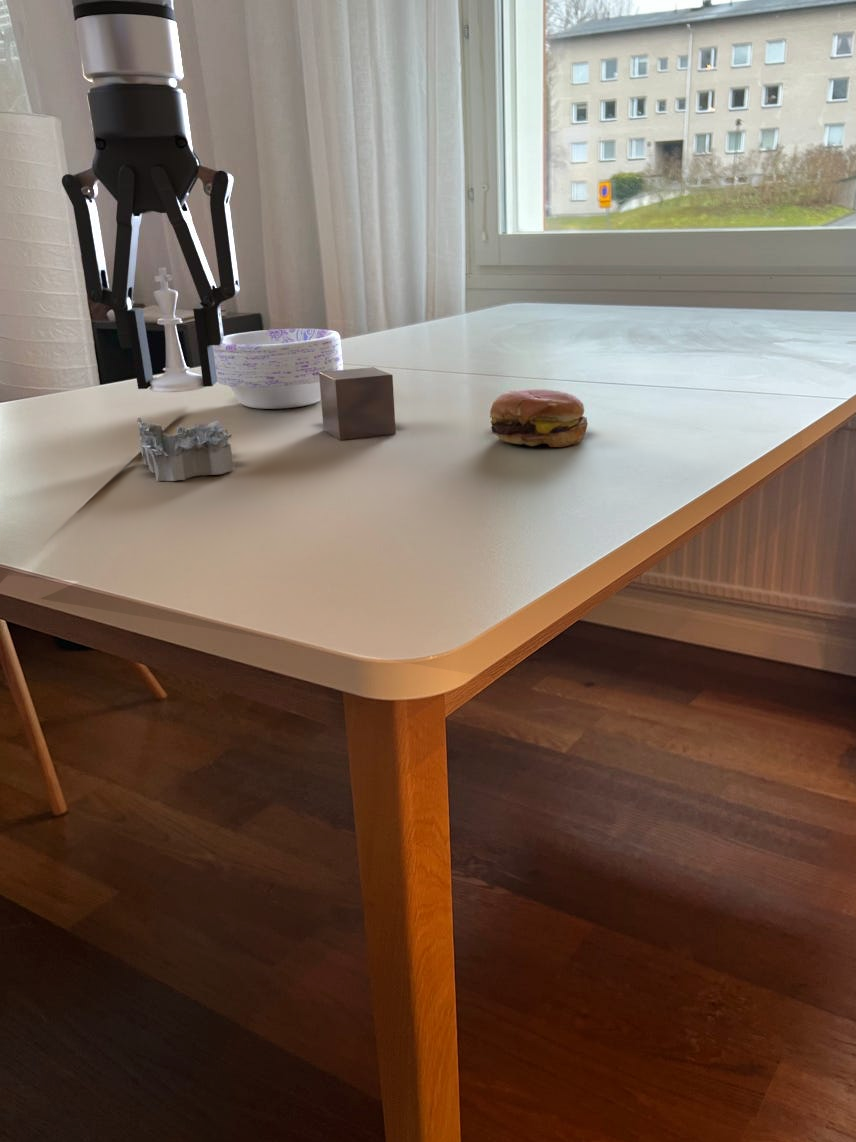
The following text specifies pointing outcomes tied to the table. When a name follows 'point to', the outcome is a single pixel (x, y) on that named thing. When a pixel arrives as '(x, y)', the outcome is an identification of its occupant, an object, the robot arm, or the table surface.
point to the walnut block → (357, 403)
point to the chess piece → (172, 344)
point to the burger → (538, 418)
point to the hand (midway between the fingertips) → (178, 384)
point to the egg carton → (186, 451)
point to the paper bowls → (277, 365)
